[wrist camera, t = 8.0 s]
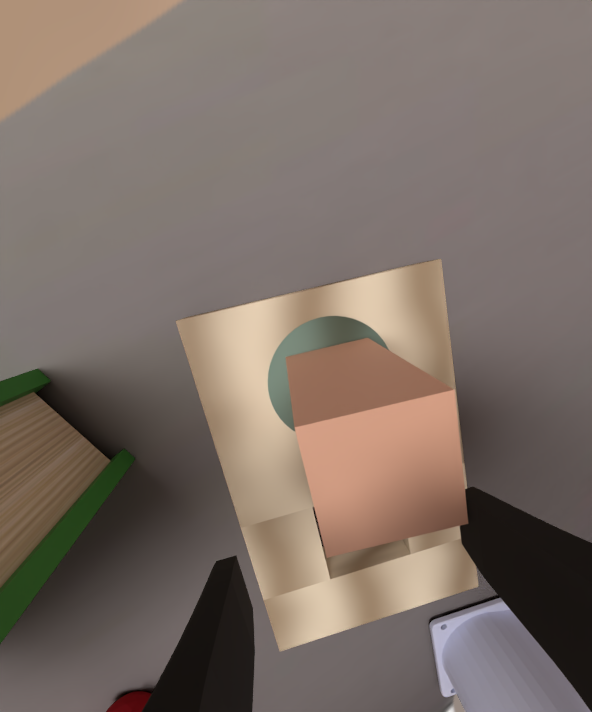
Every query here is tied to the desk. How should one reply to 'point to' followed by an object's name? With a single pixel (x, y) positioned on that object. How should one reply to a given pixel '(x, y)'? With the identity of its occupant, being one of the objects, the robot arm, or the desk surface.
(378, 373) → the peg
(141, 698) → the alarm clock
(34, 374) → the hardback book
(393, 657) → the desk surface
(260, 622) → the desk surface
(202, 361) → the pocket board
